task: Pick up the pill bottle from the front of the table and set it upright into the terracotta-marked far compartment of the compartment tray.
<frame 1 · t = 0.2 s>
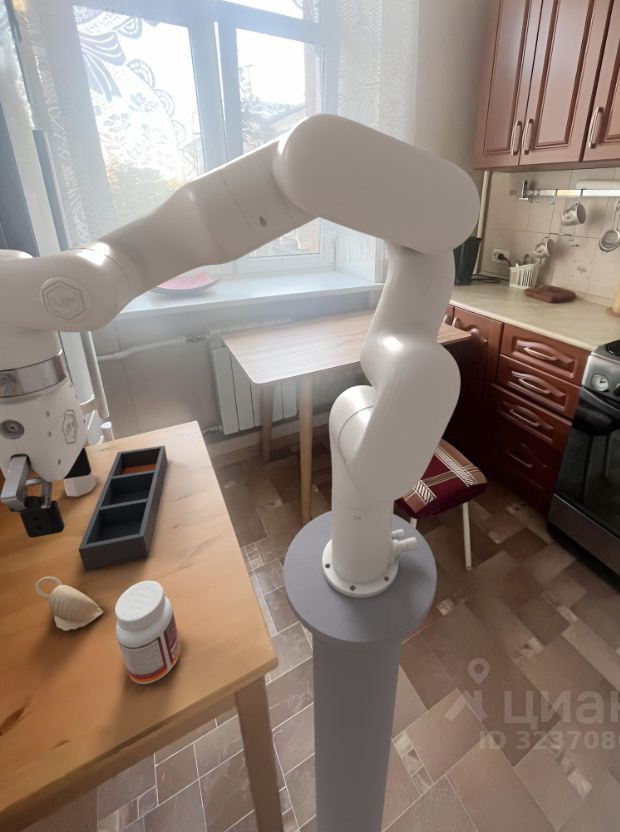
hand: (63, 501, 47), 22 cm above the table, tool pointing down, fingers open, 9 cm apart
salt shaker: (81, 488, 80), on the table
compartment tray: (133, 507, 75), on the table
pill bottle: (155, 660, 51), on the table
decorative ornament: (74, 613, 56), on the table
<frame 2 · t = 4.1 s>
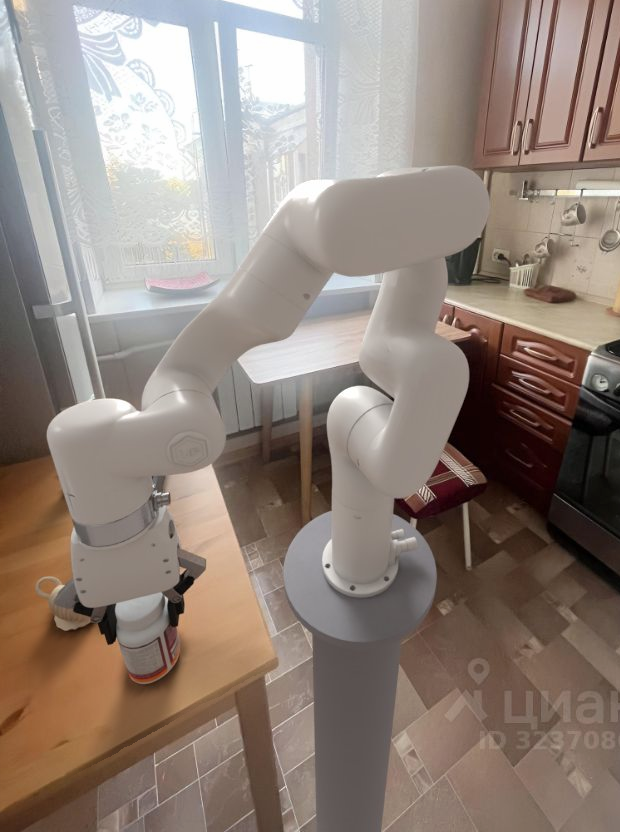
hand: (145, 623, 48), 7 cm above the table, tool pointing down, fingers closed on pill bottle, 6 cm apart
pill bottle: (155, 660, 51), on the table, touching gripper
everything else where it was.
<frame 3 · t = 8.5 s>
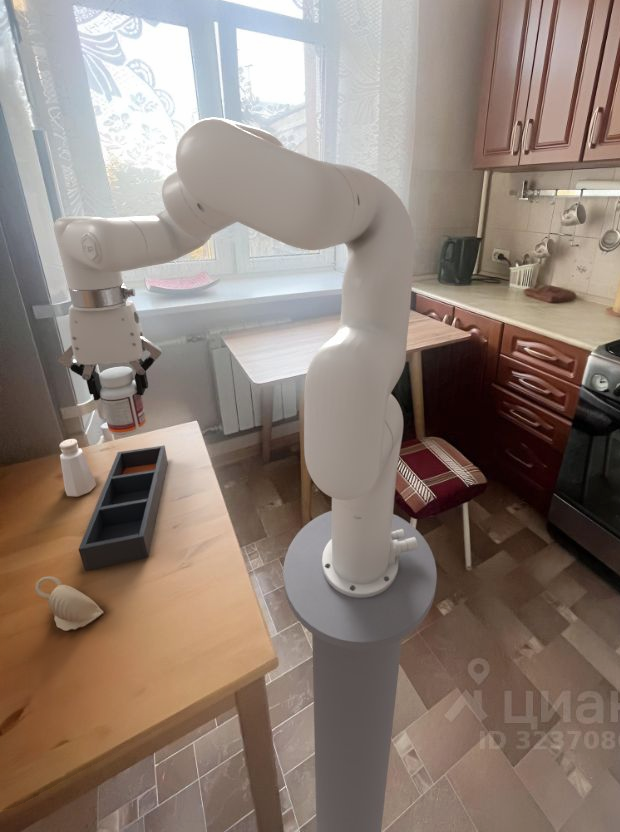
hand: (120, 393, 70), 22 cm above the table, tool pointing down, fingers closed on pill bottle, 6 cm apart
pill bottle: (128, 428, 73), point 15 cm above the table, touching gripper
everything else where it was.
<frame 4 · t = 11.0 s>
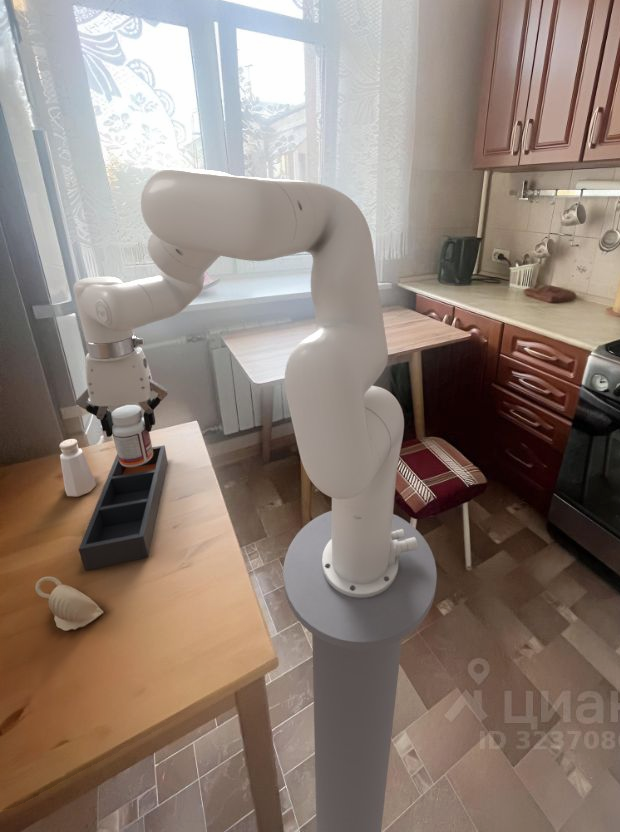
hand: (130, 429, 78), 12 cm above the table, tool pointing down, fingers closed on pill bottle, 6 cm apart
pill bottle: (137, 459, 80), point 5 cm above the table, touching gripper
everything else where it was.
when the fingers open (8 cm above the table, at t = 12.7 s): pill bottle stays where it is, resting on compartment tray.
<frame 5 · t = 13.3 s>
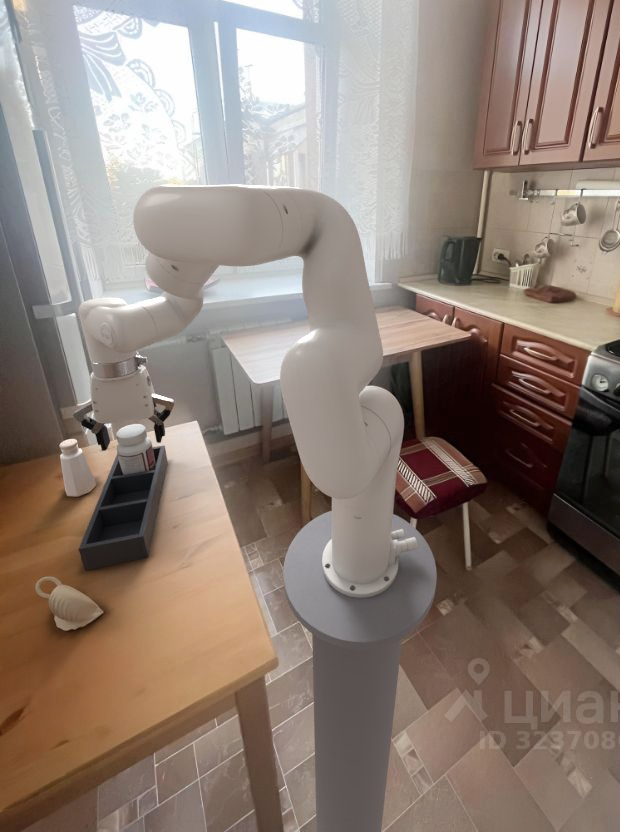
hand: (133, 442, 79), 9 cm above the table, tool pointing down, fingers open, 9 cm apart
pill bottle: (141, 477, 82), point 1 cm above the table, touching compartment tray
everything else where it was.
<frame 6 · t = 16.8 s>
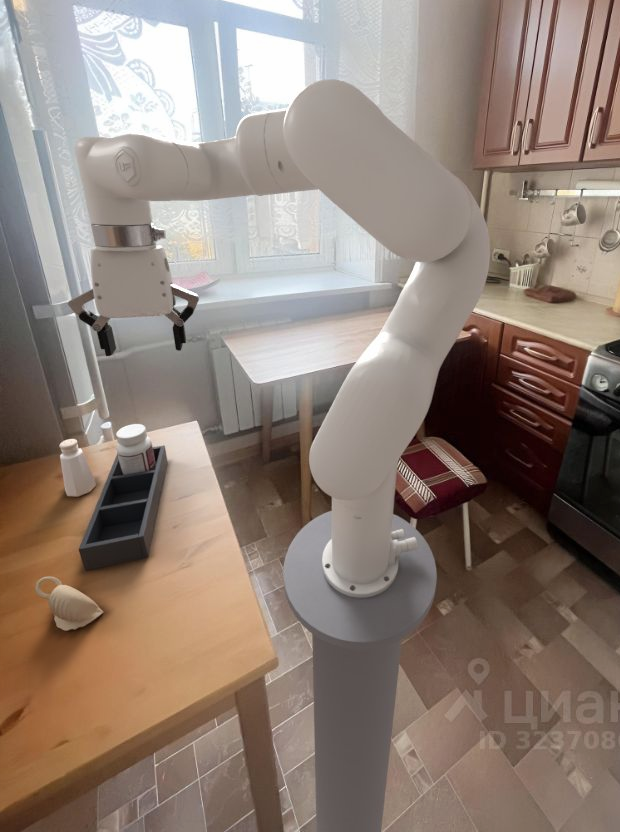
hand: (146, 350, 62), 33 cm above the table, tool pointing down, fingers open, 9 cm apart
nothing on the table moved.
at the end: pill bottle 0.1 cm from the target spot in the compartment tray, point 0.6 cm above the compartment tray's base; pill bottle tilted 0°; the gripper is holding nothing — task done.
